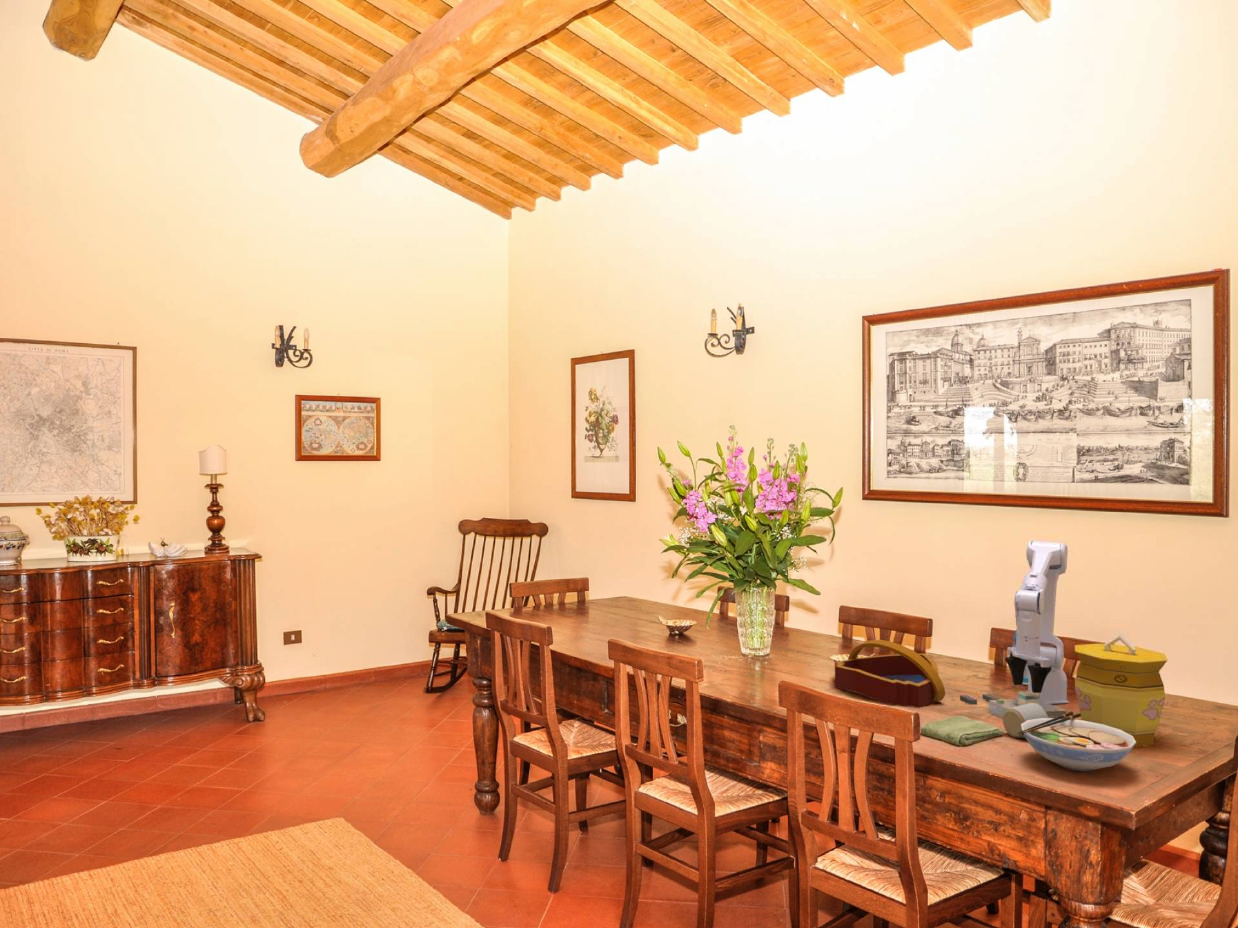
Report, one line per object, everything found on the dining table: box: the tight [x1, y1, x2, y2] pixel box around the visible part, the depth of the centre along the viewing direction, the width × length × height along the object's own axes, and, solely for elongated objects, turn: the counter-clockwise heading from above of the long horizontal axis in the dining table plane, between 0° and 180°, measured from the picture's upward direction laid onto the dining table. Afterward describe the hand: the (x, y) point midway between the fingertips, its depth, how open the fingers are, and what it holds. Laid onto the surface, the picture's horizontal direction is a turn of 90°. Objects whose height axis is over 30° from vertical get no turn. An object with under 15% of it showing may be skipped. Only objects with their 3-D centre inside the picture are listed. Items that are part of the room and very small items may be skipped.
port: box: [988, 698, 1067, 720], centre depth 241 cm, size 14×12×4 cm
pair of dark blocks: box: [959, 693, 1000, 705], centre depth 256 cm, size 9×5×1 cm, turn 102°
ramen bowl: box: [1017, 711, 1136, 772], centre depth 204 cm, size 25×23×8 cm
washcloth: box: [920, 715, 1004, 747], centre depth 225 cm, size 13×18×3 cm
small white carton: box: [1017, 690, 1040, 706], centre depth 241 cm, size 4×3×6 cm
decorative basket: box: [834, 639, 946, 709], centre depth 265 cm, size 34×29×15 cm
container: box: [1074, 633, 1168, 748], centre depth 226 cm, size 21×21×25 cm
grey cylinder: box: [1002, 703, 1048, 739], centre depth 223 cm, size 11×8×8 cm
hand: (1027, 688), depth 241 cm, fingers open, 7 cm apart
